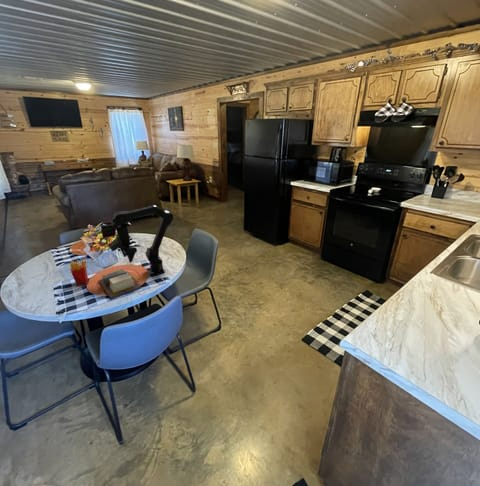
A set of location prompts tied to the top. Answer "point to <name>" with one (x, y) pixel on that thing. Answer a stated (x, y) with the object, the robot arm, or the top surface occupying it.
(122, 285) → the cream books
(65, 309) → the top surface
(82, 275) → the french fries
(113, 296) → the walnut board
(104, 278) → the grey rectangular block
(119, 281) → the cream book
